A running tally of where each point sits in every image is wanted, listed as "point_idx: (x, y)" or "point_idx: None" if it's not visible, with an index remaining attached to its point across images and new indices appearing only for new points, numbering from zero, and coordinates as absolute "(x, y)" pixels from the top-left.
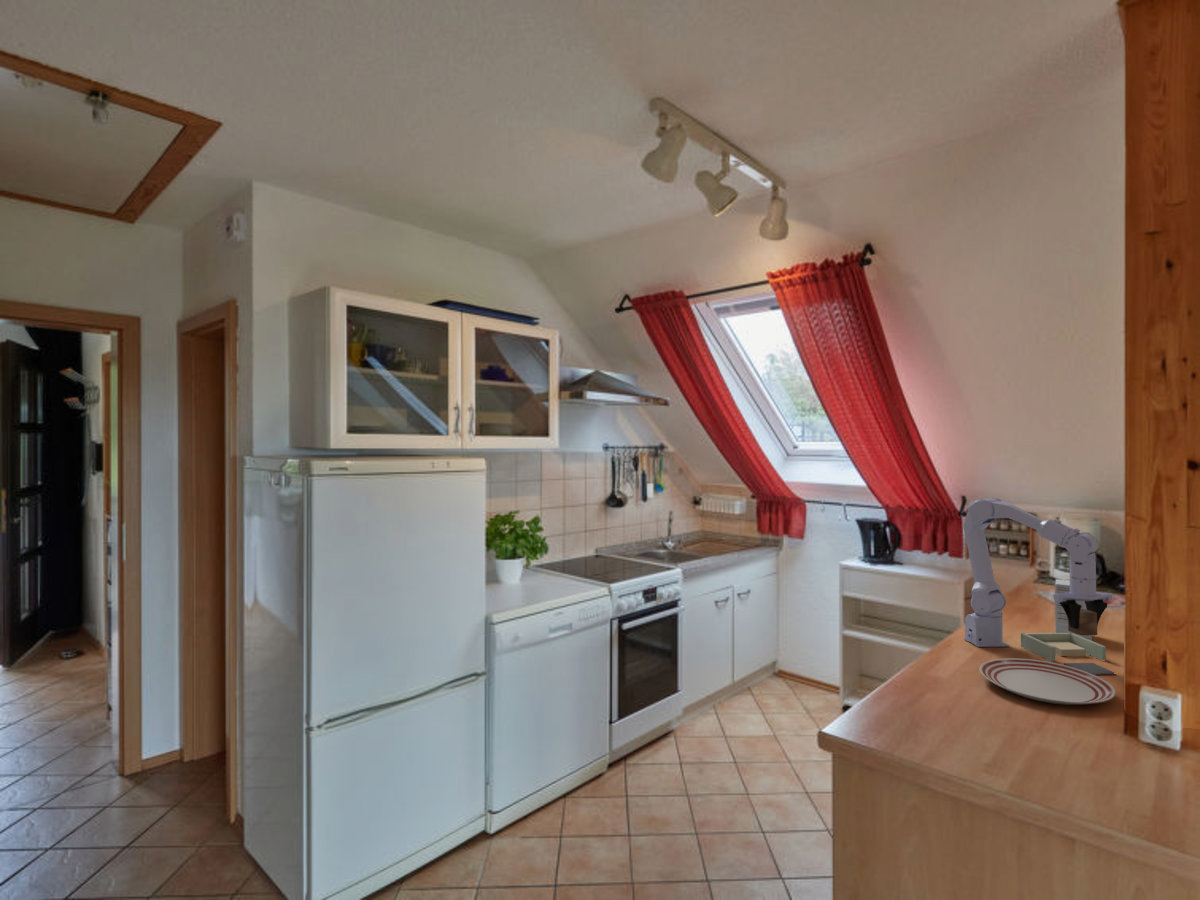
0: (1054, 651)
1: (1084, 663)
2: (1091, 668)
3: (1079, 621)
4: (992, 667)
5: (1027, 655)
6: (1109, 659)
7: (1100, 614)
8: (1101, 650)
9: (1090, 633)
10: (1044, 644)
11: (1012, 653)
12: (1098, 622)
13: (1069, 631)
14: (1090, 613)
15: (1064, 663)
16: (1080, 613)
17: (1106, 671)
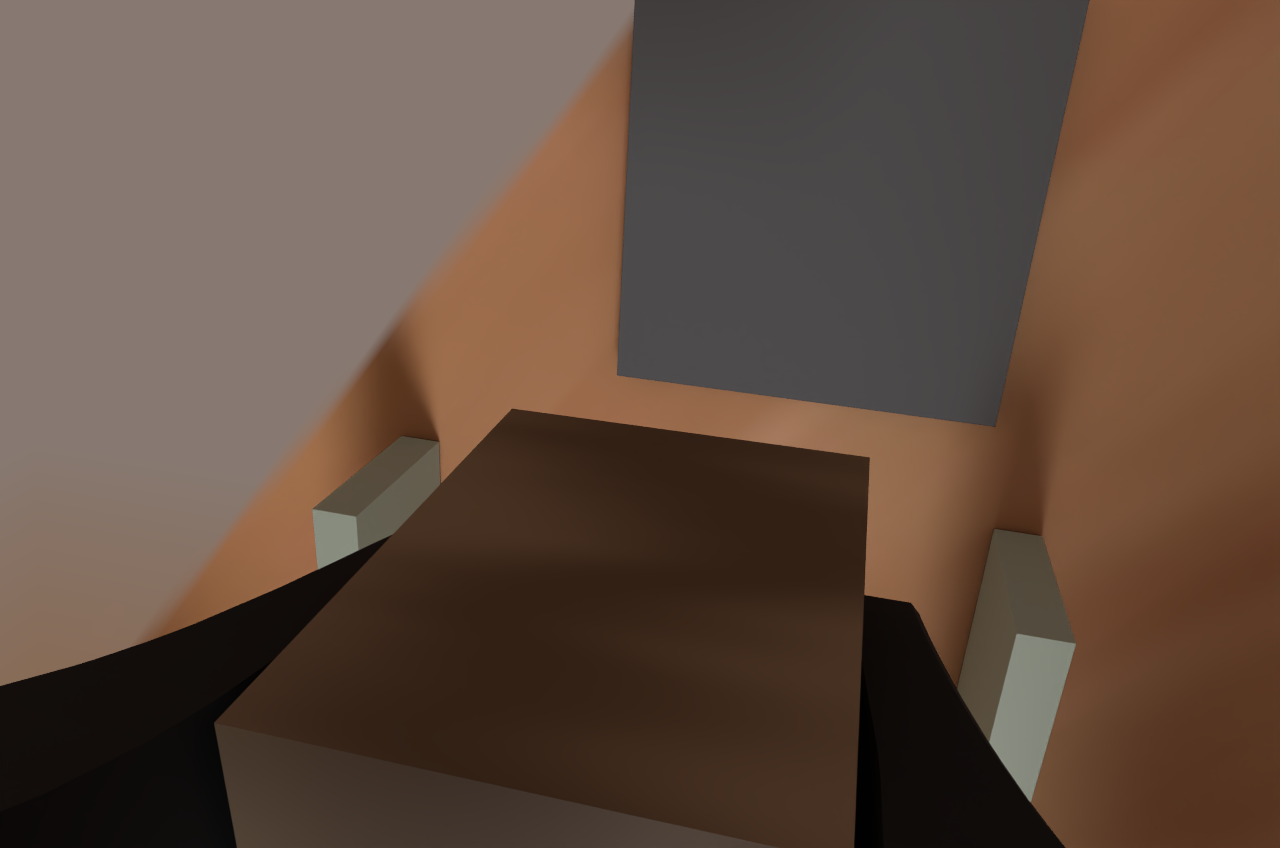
0: (1020, 599)
1: (738, 372)
2: (808, 196)
3: (854, 669)
4: None
5: (1138, 756)
6: (331, 473)
7: (135, 666)
8: (382, 507)
9: (644, 441)
10: (1036, 763)
11: (1261, 845)
12: (319, 573)
13: None
14: (444, 756)
15: (997, 413)
16: (838, 845)
17: (707, 64)
